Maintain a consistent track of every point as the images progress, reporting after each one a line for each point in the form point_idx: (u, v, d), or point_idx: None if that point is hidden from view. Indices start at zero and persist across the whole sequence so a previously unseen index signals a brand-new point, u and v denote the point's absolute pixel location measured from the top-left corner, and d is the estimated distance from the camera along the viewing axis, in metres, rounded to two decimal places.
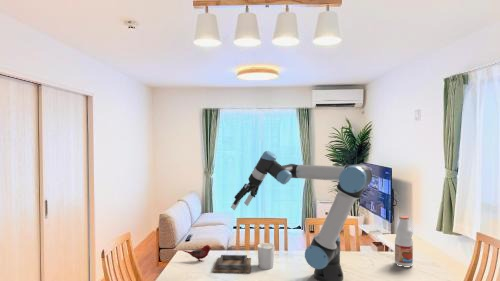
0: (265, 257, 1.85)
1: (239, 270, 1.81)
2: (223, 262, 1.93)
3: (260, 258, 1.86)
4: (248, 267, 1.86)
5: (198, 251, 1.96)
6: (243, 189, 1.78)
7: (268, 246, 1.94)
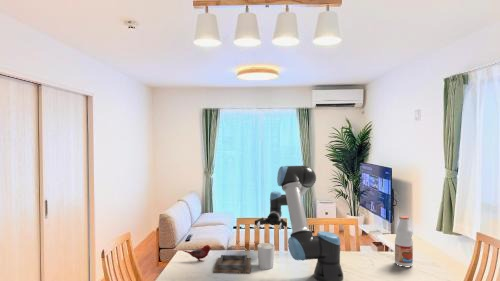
0: (265, 257, 1.85)
1: (239, 270, 1.81)
2: (223, 262, 1.93)
3: (260, 258, 1.86)
4: (248, 267, 1.86)
5: (198, 251, 1.96)
6: None
7: (268, 246, 1.94)
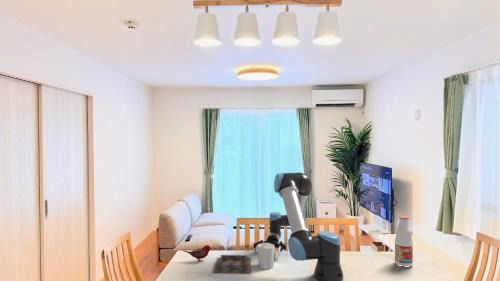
0: (265, 257, 1.85)
1: (239, 270, 1.81)
2: (223, 262, 1.93)
3: (260, 258, 1.86)
4: (248, 267, 1.86)
5: (198, 251, 1.96)
6: None
7: (268, 246, 1.94)
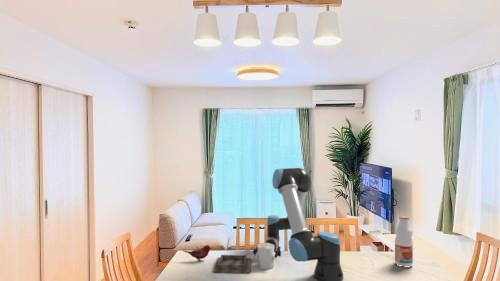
0: (264, 257, 1.85)
1: (239, 270, 1.81)
2: (223, 262, 1.93)
3: (260, 258, 1.86)
4: (248, 267, 1.86)
5: (198, 251, 1.96)
6: None
7: (268, 246, 1.94)
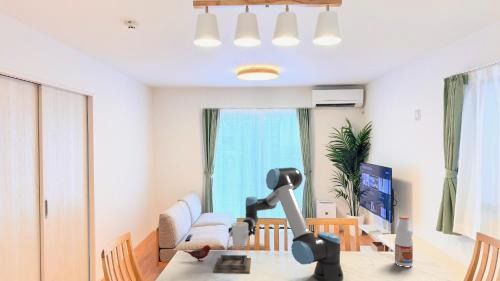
0: (238, 234, 1.87)
1: (239, 270, 1.81)
2: (223, 262, 1.93)
3: (234, 236, 1.89)
4: (248, 267, 1.86)
5: (198, 251, 1.96)
6: None
7: (243, 225, 1.96)
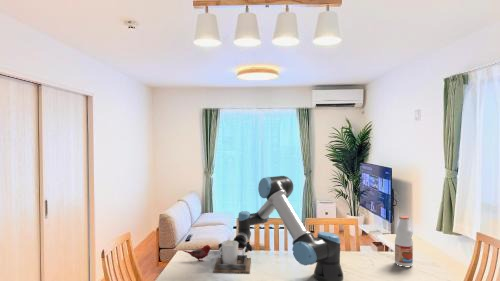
0: (227, 254, 1.87)
1: (239, 270, 1.81)
2: None
3: (223, 255, 1.88)
4: (248, 267, 1.86)
5: (198, 251, 1.96)
6: None
7: (233, 243, 1.95)
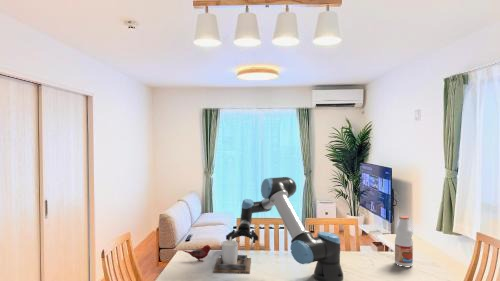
0: (227, 254, 1.87)
1: (239, 270, 1.81)
2: None
3: (223, 255, 1.89)
4: (248, 267, 1.86)
5: (198, 251, 1.96)
6: None
7: (233, 243, 1.95)
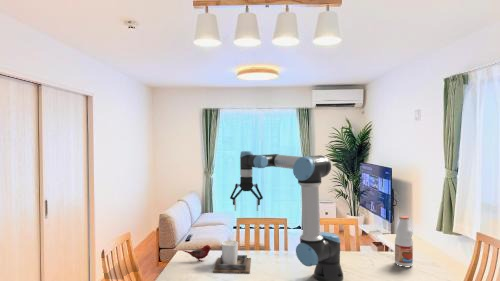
0: (227, 254, 1.87)
1: (239, 270, 1.81)
2: None
3: (223, 255, 1.89)
4: (248, 267, 1.86)
5: (198, 251, 1.96)
6: None
7: (233, 243, 1.95)
